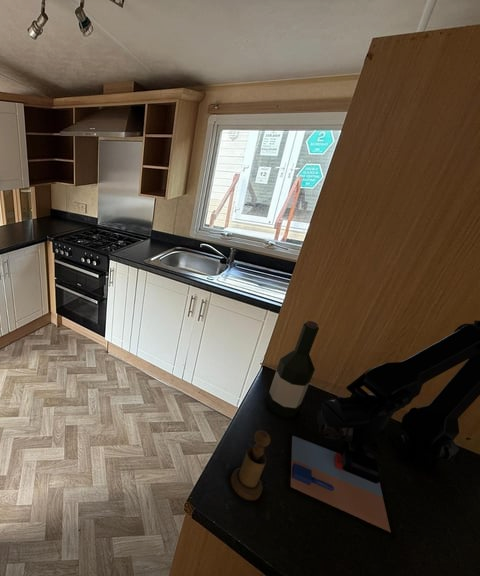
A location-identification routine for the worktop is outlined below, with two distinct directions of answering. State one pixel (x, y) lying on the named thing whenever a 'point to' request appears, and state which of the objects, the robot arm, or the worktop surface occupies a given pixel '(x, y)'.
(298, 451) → the sorting board
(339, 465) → the red spoon
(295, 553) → the worktop surface
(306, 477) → the blue spoon
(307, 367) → the wine bottle
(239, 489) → the mortar and pestle
